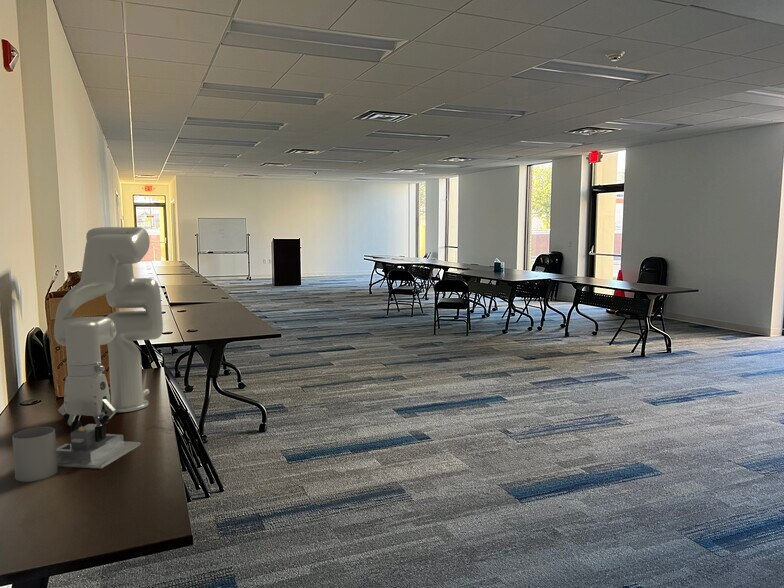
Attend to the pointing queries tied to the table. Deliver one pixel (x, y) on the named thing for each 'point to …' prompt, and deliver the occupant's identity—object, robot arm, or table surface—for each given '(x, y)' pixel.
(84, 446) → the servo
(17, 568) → the table surface
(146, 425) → the table surface
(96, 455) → the board
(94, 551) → the table surface
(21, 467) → the cup
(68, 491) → the table surface
